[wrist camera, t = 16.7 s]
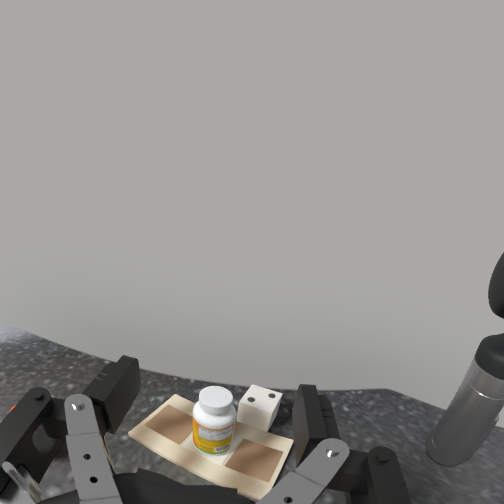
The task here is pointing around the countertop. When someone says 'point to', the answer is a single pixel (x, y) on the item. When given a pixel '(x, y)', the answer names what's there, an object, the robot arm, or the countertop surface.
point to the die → (259, 407)
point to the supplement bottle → (213, 421)
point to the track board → (222, 466)
